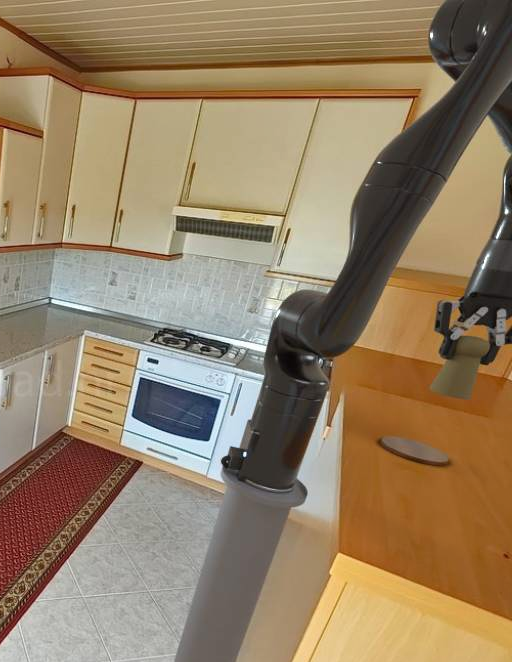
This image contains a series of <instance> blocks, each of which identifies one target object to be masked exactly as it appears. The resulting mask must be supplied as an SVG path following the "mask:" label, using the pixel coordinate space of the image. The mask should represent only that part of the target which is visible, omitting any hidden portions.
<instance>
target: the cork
mask: <svg viewBox="0 0 512 662" xmlns="http://www.w3.org/2000/svg"><path fill="white" fill-rule="evenodd" d="M456 340H457V341H458V342H457V344H456V347H455V349H454V351H453V354H452V356H451V358H450V359H449V360H448V359H445V362H444V363H443V365H442V367H441V369H439V371H438V373H437V375H436V376H435V378H434V379H433V381H432V383H431V384H430V386H429V387H428V388H429V390H430V391H431V392H433V393H437V394H439V395H442V396H445V397H448V398H454V399H459V400H470V399H472V395H473V390H474V387H475V383H476V379H477V374H478V372H479V367H480V365H481V364H480V360H481V357H483V356H484V355H486V354H487V353H488V351H489V349H490V343H489V341H488V339H484V338H482V337H479V336H475V335H461V336H460V337H459V338H458V339H456Z"/></svg>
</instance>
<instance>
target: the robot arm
mask: <svg viewBox="0 0 512 662" xmlns="http://www.w3.org/2000/svg"><path fill="white" fill-rule="evenodd" d="M427 35H428V36H427V47H428V50H429V54H430V56H431V58H432V59H433V61H434V62H435V64H436V65H437V66H438V67H439V68H440V69H441V70H442V72H443V73H445V74H446V75H447V76H448V77H449V78H450V79H451V80H452V81H454V84H453V85H452V86H451V87H450V88H449V89H448V90H447V92H446V93H445V94H443V95H442V97H441V98H440V99H439V100H438V101H437V102H435V103H434V104H433V105H432V106H430V108H428V109H427V110H426V111H424V112H423V113H422V114H421V115H420V116H419V117H418V118H416V119H415V120H414V121H413V122H411V123H410V124H409V125H408V126H406V127H405V129H403V130H402V131H400V133H398V134H397V135H396V136H395V137H394V138H392V139H391V140H390V142H389V143H387V144H386V146H384V147H383V148H382V150H380V152H379V153H378V155H377V156H376V157H375V159H374V160H373V162H372V164H371V165H370V167H369V169H368V171H367V173H365V174H366V175H365V176H364V178H363V180H362V181H361V183H360V186H358V189H357V191H356V193H355V195H354V197H353V199H352V202H351V206H350V214H349V235H348V236H349V237H348V239H349V240H348V241H349V242H348V250H347V256H346V259H345V261H344V263H343V266H342V269H341V270H340V273H339V274H338V276H337V278H336V280H335V281H334V283H333V285H332V286H331V288H330V289H329V290H328V292H325V291H321V290H316V289H309V288H306V289H305V288H304V289H300V290H297V291H293V292H292V293H291V294H289V295H288V296H287V297H285V298H284V300H283V301H282V302H281V303H280V305H279V306H278V308H277V310H276V312H275V315H274V317H273V320H272V322H271V323H272V324H271V327H270V331H269V335H268V339H267V344H266V348H265V352H264V356H263V372H264V375H263V379H262V383H261V387H260V390H259V393H258V396H257V400H256V402H255V406H254V409H253V412H252V416H251V419H248V420H247V421H246V424H245V427H244V431H243V434H242V437H241V441H240V444H239V447H236V446H231V445H230V446H229V449H228V452H227V454H226V455H224V456H223V457H221V459H220V464H221V465H222V466H224V468H225V469H227V468H229V469H233V470H235V473H236V475H237V479H238V481H241V482H245V483H247V484H249V485H251V486H253V487H255V488H257V489H260V490H263V491H267V492H271V493H278V494H285V493H290V492H291V491H293V489H294V486H295V482H296V479H298V475H299V473H300V470H301V467H302V464H303V462H304V459H305V455H306V453H307V450H308V447H309V444H310V441H311V440H312V436H313V433H314V431H315V427H316V425H317V422H318V419H319V416H320V413H321V411H322V408H323V405H324V402H325V399H326V396H327V395H328V394H327V393H328V391H329V388H330V380H329V378H328V377H327V375H326V374H325V373H324V372H323V370H322V368H321V366H320V364H319V359H318V358H323V359H333V358H338V357H341V356H342V355H343V354H345V353H346V352H348V351H349V350H350V349H352V348H353V346H355V344H356V343H357V342H358V341H359V339H360V338H361V337H362V335H363V334H364V332H365V330H366V328H367V326H368V324H369V322H370V320H371V318H372V316H373V314H374V312H375V309H376V307H377V305H378V303H379V301H380V299H381V297H382V295H383V293H384V290H385V288H386V286H387V284H388V282H389V280H390V278H391V277H392V274H393V273H394V271H395V269H396V267H397V265H398V263H399V261H400V260H401V258H402V256H403V254H404V253H405V251H406V250H407V248H408V246H409V244H410V242H411V241H412V239H413V237H414V235H415V234H416V232H417V230H418V229H419V228H420V226H421V224H422V223H423V221H424V219H425V218H426V217H427V215H428V214H429V212H430V210H431V208H433V205H434V204H435V202H436V201H437V199H438V197H439V196H440V194H441V193H442V191H443V189H444V188H445V186H446V184H447V183H448V181H449V179H450V177H451V176H452V173H453V172H454V170H455V169H456V167H457V165H458V164H459V161H460V160H461V158H462V156H463V155H464V152H465V151H466V149H467V148H468V146H469V145H470V143H471V141H472V140H473V138H474V137H475V136H476V134H477V132H478V130H479V129H480V127H481V126H482V124H483V123H484V121H485V119H486V118H487V117H488V119H489V121H490V122H491V124H492V127H493V128H494V130H495V132H496V134H497V135H498V138H499V139H500V142H501V143H502V146H503V147H504V149H505V150H506V151H507V153H508V154H510V155H509V157H508V158H507V160H506V162H505V164H504V166H503V169H502V170H503V171H502V181H501V182H502V184H501V197H500V206H499V210H498V216H497V218H496V220H495V223H494V225H493V227H492V230H491V233H490V235H489V237H488V239H487V241H486V243H485V244H484V247H483V248H482V249H481V251H480V254H479V256H478V258H477V259H476V261H475V265H474V268H473V270H472V273H471V275H470V277H469V280H468V283H467V285H466V287H465V290H464V293H463V295H462V296H461V297H459V299H458V300H448V301H446V300H444V299H441V300H439V301H438V302H437V304H436V314H435V321H434V327H433V330H434V332H436V333H438V334H440V335H442V336H443V338H442V339H443V340H442V341H441V344H440V346H439V349H438V354H439V355H440V358H441V359H443V360H447V359H448V360H449V359H450V358H451V356H452V354H453V351H454V349H455V347H456V344H457V342H458V341H457V340H456V339H458V338H459V337H460V336H463V334H464V333H465V332H466V331H468V330H470V329H471V328H472V327H473V326H483V327H484V326H485V329H486V331H487V341H488V342H489V343H490V349H489V351H488V353H487V354H486V355H484V356H483V357H481V360H480V364H479V365H481V366H489V365H490V364H492V363H493V362H494V361H495V359H496V358H497V355H498V353H499V351H500V349H501V347H503V346H505V345H512V324H511V325H510V326H509V327H508V329H507V321H508V320H510V318H512V0H444V1H443V2H442V3H441V5H439V7H438V8H437V10H436V12H435V14H434V16H433V18H432V20H431V23H430V26H429V29H428V33H427ZM457 308H458V311H459V313H460V314H459V315H458V316H457V317H456V318H455V319H454V320H453V321H452V324H450V323H451V317H452V314H454V313H455V311H456V309H457ZM227 462H228V463H227Z"/></svg>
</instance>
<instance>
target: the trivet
mask: <svg viewBox="0 0 512 662" xmlns="http://www.w3.org/2000/svg"><path fill="white" fill-rule="evenodd" d="M380 444H381V446H382V447H383V448H384V449H386V450H387V451H389V452H391V453H393V454H395V455H397V456H400V457H402V458H404V459H408V460H410V461H414V462H417V463H420V464H424V465H425V464H426V465H431V466H445V465H448V463H449V460H450V457H449V455H447V454H446V453H445V452H443V451H441V450H440V449H438V448H436V447H434V446H431V445H429V444H426V443H423V442H421V441H417V440H414V439H410V438H407V437H403V436H402V437H401V436H393V435H389V436H388V435H387V436H383V437H382V438H381V440H380Z"/></svg>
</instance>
